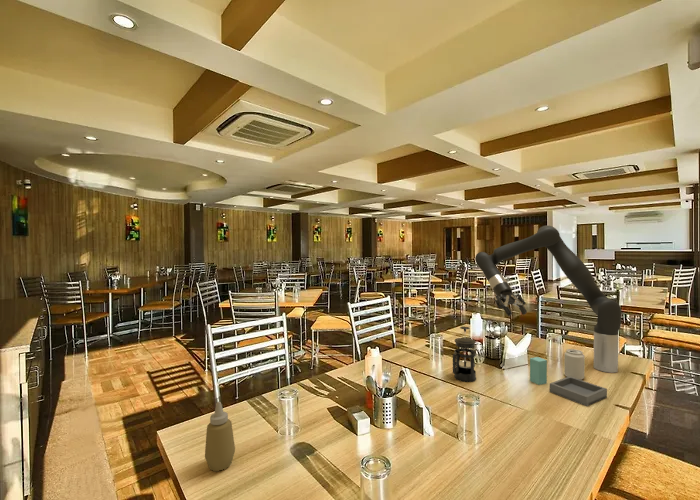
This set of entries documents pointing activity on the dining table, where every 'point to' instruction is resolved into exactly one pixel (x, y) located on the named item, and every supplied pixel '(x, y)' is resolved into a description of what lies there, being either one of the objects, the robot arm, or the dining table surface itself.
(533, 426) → the dining table surface
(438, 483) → the dining table surface
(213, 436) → the squeeze bottle
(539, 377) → the green tall block
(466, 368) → the french press
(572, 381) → the tray
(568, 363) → the can
